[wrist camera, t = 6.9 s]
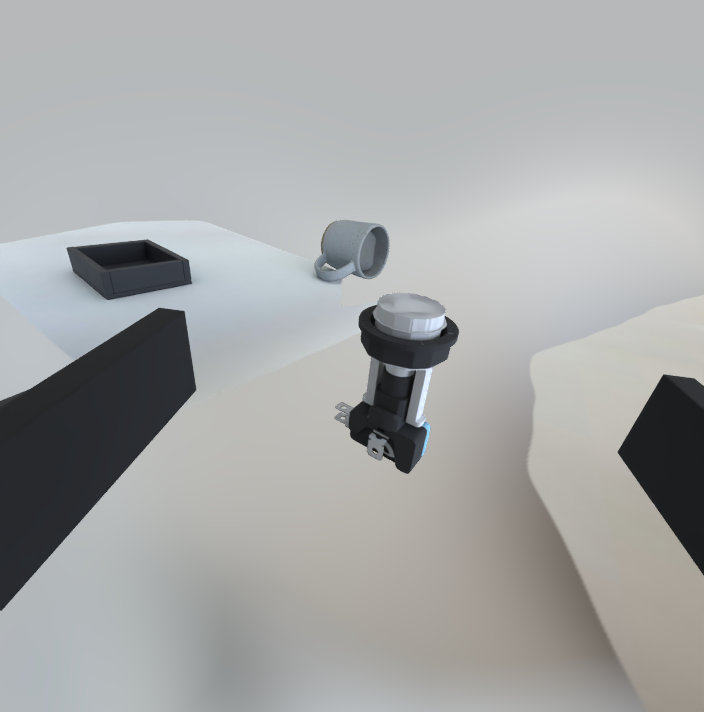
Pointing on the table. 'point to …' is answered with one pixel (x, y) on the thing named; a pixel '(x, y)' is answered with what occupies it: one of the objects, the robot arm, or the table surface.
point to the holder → (129, 267)
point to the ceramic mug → (353, 250)
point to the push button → (399, 375)
